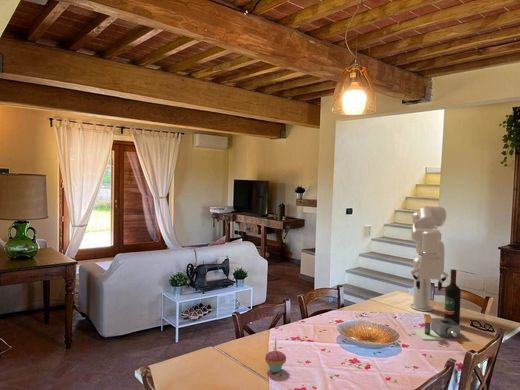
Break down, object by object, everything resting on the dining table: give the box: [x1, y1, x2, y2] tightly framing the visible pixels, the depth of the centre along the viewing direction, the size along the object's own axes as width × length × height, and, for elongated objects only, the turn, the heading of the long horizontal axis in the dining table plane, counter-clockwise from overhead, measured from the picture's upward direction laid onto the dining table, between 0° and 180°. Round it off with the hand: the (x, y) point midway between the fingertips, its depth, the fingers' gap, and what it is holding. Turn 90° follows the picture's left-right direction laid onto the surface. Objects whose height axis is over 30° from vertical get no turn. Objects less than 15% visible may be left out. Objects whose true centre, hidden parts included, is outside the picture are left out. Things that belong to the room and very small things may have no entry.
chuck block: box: [430, 317, 461, 338], centre depth 194 cm, size 15×10×6 cm
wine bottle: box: [443, 269, 462, 326], centre depth 209 cm, size 8×8×30 cm
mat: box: [412, 329, 444, 341], centre depth 193 cm, size 12×10×1 cm
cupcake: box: [264, 337, 287, 373], centre depth 154 cm, size 9×8×12 cm
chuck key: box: [423, 313, 433, 335], centre depth 193 cm, size 3×7×9 cm, turn 165°
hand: (428, 289), depth 193 cm, fingers open, 9 cm apart
